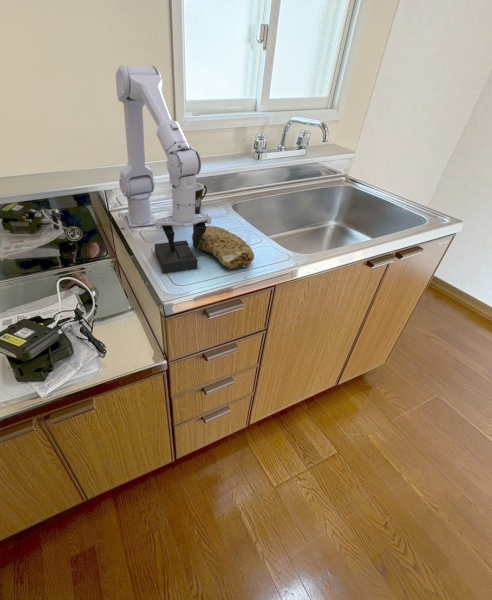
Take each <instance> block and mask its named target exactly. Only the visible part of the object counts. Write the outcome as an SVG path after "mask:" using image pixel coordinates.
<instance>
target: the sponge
mask: <svg viewBox="0 0 492 600" xmlns="http://www.w3.org/2000/svg"><path fill="white" fill-rule="evenodd" d="M205 226H206V231H205V232H204V234H203V236H202V237H201V239H200V242H199V245H198V248H199V249H200V250H202V251H204V252H206V253H208V254H212V255H213V256H214V257H215V258H217V260H218V261H219V262H220V263H221V265H223V266H224V267H226V268H228V269H229V270H230V269H231V270H232V269H237V268H248V267H249V266H251V263H252V262H253V261H254V260H255V252H254V251H253V250H252V248H251V247H250V245H249V244H247V242H246V241H245V240H243V238H241V237H240V236H238V234H235V233H232V232H230V231H229V230H226V229H225V228H223V227H220V226H214V225H205ZM191 241H193V233H192V234H191ZM228 269H227V270H228Z"/></svg>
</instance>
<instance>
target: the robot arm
mask: <svg viewBox="0 0 492 600" xmlns="http://www.w3.org/2000/svg"><path fill="white" fill-rule="evenodd" d="M115 85H116V86H115V87H116V95H117V100H118V102H121V103H123V105H122V106H123V117H124V127H125V140H126V149H127V150H126V153H127V164H125V165H124V166H123V167H122V168H121V169H120V170H119V181H118V183H119V185H118V186H119V189H120V192H121V194H122V195H123V196H124V197H125V198H126V200H127V201H126V203H127V211H128V213H127V214H126V219H127V221H128V224H129V227H130V228H136V227H137V228H138V227H146V226H147V227H149V226H155V227H156V229H157V230H163V232H164V235H165V236H166V239H167V242H169V245H170V250H171V252H174V242H175V232H174V228H173V227H183V228H192V234H193V240H192V247H193V248H194V250H198V248H199V247H198V245H199V242H200V239H201V237H202V236H203V234H204V232H205V231H206V226H207V225H211V224H212V216H211V215H210V214H209V213H204V214H203V213H202V214H201V213H199V214H195V187H196V183H197V182H196V181H197V178H196V177H197V176H196V175H199V174H200V172H201V170H202V160H201V156H200V154H199V151H198V150H197V149H196V148H194V147H193V146H192V145H191V144H189V143H188V141H187V138H186V137H185V134H184V132H183V130H182V128H181V125H180V124H179V122H178V121H176V120H172V117H171V114H170V112H169V110H168V106H167V104H166V101H165V99H164V96H163V79H162V74H161V72H160V70H159V68H158V67H157V66H155V65H151V66H145V65H144V66H141V65H139V66H133V65H123V64H122V65H119V66H118V68H117V70H116V73H115ZM144 106H146V109H147V110H148V112H149V114H150V115H151V117H152V119H153V121H154V123H155V124H156V125H157V129H156V136H157V138H158V141H159V143H160V146H161V147H162V149H163V151H164V153H165V156H166V157H167V159H166V168H167V172H168V175H169V183H170V184H171V198H172V202H171V203H172V214H171V215H168V216H166V217H165V216H164V217H160V218H155V221H154V220H153V218H152V212H151V211H152V210H151V198H150V197H152V193H154V191H155V187H156V184H155V183H156V182H155V178H154V172H153V170H152V169H151V167H149V166H148V165H146V157H145V156H146V154H145V133H144V115H143V114H144V111H143V110H144V109H143V108H144Z"/></svg>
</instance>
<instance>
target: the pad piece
mask: <svg viewBox="0 0 492 600" xmlns="http://www.w3.org/2000/svg"><path fill="white" fill-rule="evenodd" d="M174 249H175V251H176V253H177V255H178V257H179V258H183V257H191V256H195V255H194V253H193V252H192V250H191V248H190V246H189V243H188V244H186V245H177V246H174Z"/></svg>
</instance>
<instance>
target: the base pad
mask: <svg viewBox="0 0 492 600" xmlns="http://www.w3.org/2000/svg"><path fill="white" fill-rule="evenodd" d="M186 244H188V245H189V242H188V240H187V239H185V240H176V241H175V240H174V246H177V245H186ZM154 254H155V257H156V259H157V262H158V264H159V267H160V269H161V272H162V274H170V273H177V272H184V271H191V270H197V269H198V258H197V256H196V255H194V256H191V257H183V258H179V257H178V255H177V253H176V251H175V249H174V252H171V250H170V245H169V242H168V241H167V242H159V243H154Z"/></svg>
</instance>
